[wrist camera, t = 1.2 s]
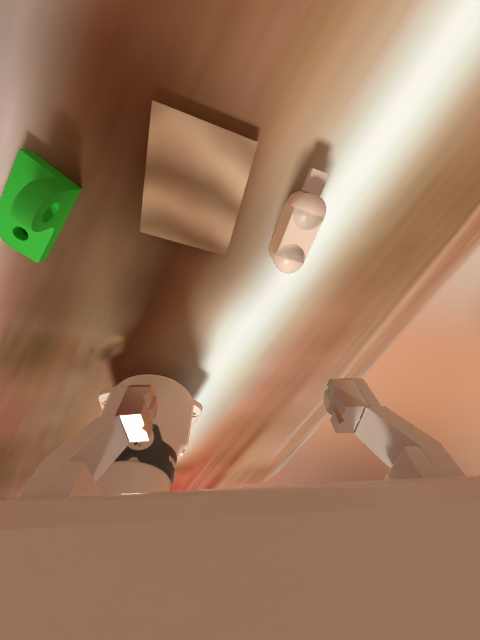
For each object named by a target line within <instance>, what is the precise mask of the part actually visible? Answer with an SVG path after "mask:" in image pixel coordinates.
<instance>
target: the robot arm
mask: <svg viewBox="0 0 480 640" xmlns="http://www.w3.org/2000/svg"><path fill="white" fill-rule="evenodd" d="M327 386H328V388H329V389H327V390H326V391H325V394H324V404H325V408H326V410H327V412H328V413H330V414H331V415H332V417H331V422H332V425H333V427H334V429H335V432H336V433H354V434H355V435H356V436H357V437H358V438H359V439H360V440H361V441H362V442H363V443H364V444H365V445H366V446H368V447H369V448H370V449H371V450H372V451H373V452H374V453H375V454H376V455H377V456H378V457H379V458H380V459H381V460H382V461H383V462H384V463H385V464H386V465H387V466H388V467H389V468H390V470H389V472H388V473H387V475H386V476H385V478H384V480H376V481H359V482H358V481H357V482H340V483H339V482H338V483H319V484H301V485H300V484H299V485H280V486H262V487H243V488H223V489H204V490H185V491H169V488H170V487H171V485H172V483H173V479H174V476H175V472H176V461H177V456H182V455H183V453H184V450H185V449H186V448H187V445H188V441H189V435H190V428H191V427H192V425H193V424H194V422H195V421H196V419H197V418H198V416H199V415H200V414H201V412H202V405H201V404H200V403H199V402H197V401H196V400H194V399H193V398H192V397H191V395H190V394H189V392H188V391H187V389H186V388H185V387H184V386H182V385H181V384H180V383H178V382H177V381H175V380H173V379H170V378H168V377H164V376H160V375H153V374H143V375H136V376H132V377H130V378H127V379H125V380H123V381H122V382H121V383H119V384H118V385H116V386H115V387H112V388H108V389H105V390H102V391H101V392H100V394H99V401H100V405H101V408H102V412H101V414H100V417H97V418H96V419H94V420H93V421H92V422H91V423H89V424H88V425H87V426H85V427H84V428H83V429H82V430H80V431H79V432H78V433H77V434H75V435H74V436H73V437H72V438H70V439H69V440H68V441H67V442H65V443H64V444H63V445H61V446H60V447H59V448H58V449H56V450H55V451H54V452H53V453H51V454H50V455H49V456H48V457H46V458H45V459H44V460H43V461H41V463H40V464H39V466H38V468H37V469H36V471H35V472H34V474H33V476H32V477H31V479H30V480H29V482H28V484H27V485H26V487H25V489H24V490H23V492H22V493H21V495H20V497H19V498H18V499H14V500H0V640H480V475H470V476H466V475H465V474H464V473H463V472H462V470H461V469H460V468H459V466H458V465H457V464H456V463H455V461H454V460H453V459H452V457H451V456H450V455H449V453H448V452H447V451H446V450H445V448H444V447H443V446H442V444H441V443H439V442H438V441H436V440H435V439H433V438H432V437H430V436H429V435H427V434H425V433H424V432H423V431H421V430H419V429H418V428H417V427H415V426H413V425H412V424H411V423H409V422H407V421H406V420H405V419H403V418H401V417H400V416H398V415H397V414H395V413H394V412H393V411H391V410H390V409H388V408H387V407H385V406H381V405H380V403H379V402H378V400H377V399H376V397H375V396H374V394H373V393H372V391H371V390H370V388H369V387H368V385H367V383H366V382H365V380H364V379H362V378H351V379H350V378H344V379H330V380H329V381H328V383H327Z"/></svg>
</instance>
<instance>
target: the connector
mask: <svg viewBox="0 0 480 640" xmlns="http://www.w3.org/2000/svg"><path fill="white" fill-rule="evenodd" d="M328 176H329V174H327V173H324V172H322V171H319V170H317V169H314V168H310V169H309V171H308V174H307V177H306V179H305V182H304V184H303V187H302V189H301V190H303V191H296V192H294V193H292V194H291V195H290V196H289V197H288V198H287V200H286V202H285V205H284V208H283V210H282V213H281V216H280V218H279V221H278V224H277V227H276V229H275V232H274V235H273V237H272V240H271V243H270V246H269V254H270V256H271V258H272V259H273V261H274V263H275V265H276V267H277V268H278V269H279V270H280V271H281V272H283V273H293V272H296V271H297V270H299V269H300V268H301V266H302V265H303V263H304V261H305V259H306V256H307V254H308V252H309V250H310V248H311V245H312V243H313V241H314V239H315V237H316V234H317V232H318V230H319V228H320V226H321V224H322V221H323V219H324V217H325V214H326V205H325V202H324V200H323V199H322V198H321V197H320V195H321V193H322V190H323V188H324V186H325V183H326V181H327V179H328ZM304 191H305V192H304Z"/></svg>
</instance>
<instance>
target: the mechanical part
mask: <svg viewBox="0 0 480 640" xmlns="http://www.w3.org/2000/svg"><path fill="white" fill-rule="evenodd" d="M81 189H82V188H80V187H79V186H78V185H76V184H75V183H74V182H72V181H71V180H70V179H68V178H67V177H66V176H64V175H63V174H62V173H60V172H59V171H58V170H56V169H55V168H54V167H52V166H51V165H50V164H48V163H47V162H46V161H44V160H43V159H42V158H40V157H39V156H38V155H37V154H35V153H34V152H33V151H31V150H23V149H20V150H19V152H18V155H17V158H16V160H15V163H14V166H13V168H12V171H11V174H10V176H9V179H8V181H7V184H6V187H5V189H4V192H3V195H2V197H1V200H0V237H1V238H2V240H3V241H4V242H5V243H6V244H8V245H9V246H10V247H12V248H13V249H15V250H16V251H18V252H20V253H22V254H23V255H25V256H27V257H28V258H30V259H32V260H34V261H35V262H37V263H39V262H41V261H43V260H45V259H46V258H47V256H48V254H49V252H50V250H51V248H52V246H53V244H54V242H55V240H56V238H57V236H58V234H59V232H60V231H61V229H62V227H63V225H64V223H65V221H66V219H67V217H68V215H69V213H70V211H71V209H72V207H73V205H74V203H75V201H76V199H77V197H78V195H79V193H80V191H81ZM22 228H23V229H25V230H26V232H27V233H28V236H27V235H26V234H25V233H24V232H23V229H22Z"/></svg>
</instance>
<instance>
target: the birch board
mask: <svg viewBox="0 0 480 640" xmlns="http://www.w3.org/2000/svg"><path fill="white" fill-rule="evenodd" d="M257 144H258V142H256V141H254V140H251V139H249V138H246V137H244V136H241V135H239V134H236V133H234V132H231V131H228V130H226V129H223V128H221V127H218V126H216V125H213V124H211V123H208V122H206V121H203V120H201V119H198V118H196V117H193V116H191V115H188V114H186V113H183V112H181V111H178V110H176V109H173V108H171V107H168V106H166V105H163V104H161V103H158V102H156V101H153V100H152V106H151V116H150V127H149V137H148V148H147V158H146V169H145V180H144V190H143V201H142V211H141V222H140V232H143V233H146V234H150V235H153V236H157V237H160V238H164V239H167V240H171V241H174V242H178V243H181V244H185V245H188V246H192V247H195V248H199V249H202V250H206V251H209V252H213V253H217V254H220V255H224V256H226V254H227V250H228V247H229V243H230V239H231V236H232V232H233V229H234V225H235V222H236V218H237V215H238V211H239V208H240V204H241V201H242V197H243V194H244V190H245V187H246V183H247V180H248V176H249V172H250V169H251V165H252V162H253V158H254V155H255V151H256V148H257Z"/></svg>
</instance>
